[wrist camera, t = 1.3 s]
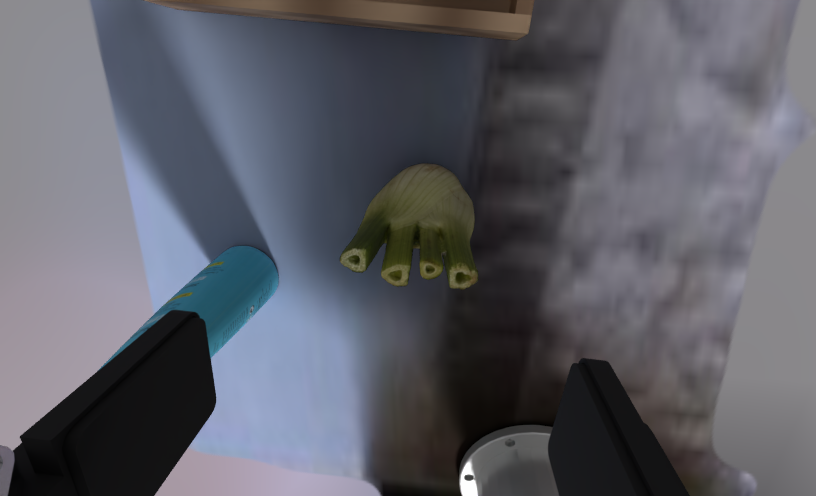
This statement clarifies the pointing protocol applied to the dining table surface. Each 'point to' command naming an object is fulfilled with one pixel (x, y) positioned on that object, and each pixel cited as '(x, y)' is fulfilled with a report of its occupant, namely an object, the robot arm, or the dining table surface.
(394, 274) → the fennel bulb
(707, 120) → the dining table surface
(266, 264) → the tube
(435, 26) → the wooden compartment tray
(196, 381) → the robot arm
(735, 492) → the dining table surface
